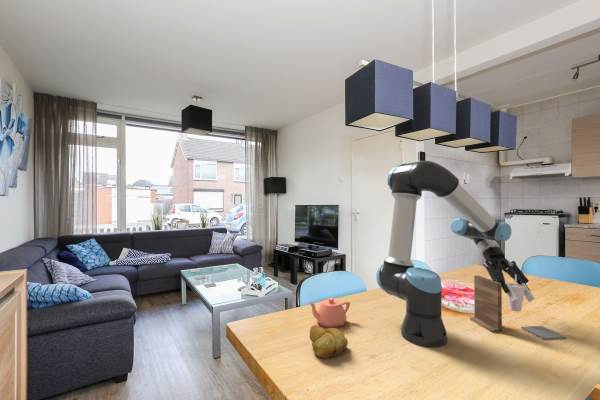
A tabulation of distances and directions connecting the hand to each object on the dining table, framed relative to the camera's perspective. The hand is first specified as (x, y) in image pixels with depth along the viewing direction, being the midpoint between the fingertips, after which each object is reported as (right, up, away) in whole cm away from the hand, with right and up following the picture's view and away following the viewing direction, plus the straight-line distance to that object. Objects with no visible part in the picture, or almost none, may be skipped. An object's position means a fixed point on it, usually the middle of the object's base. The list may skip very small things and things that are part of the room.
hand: (523, 300), depth 109 cm
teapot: (-74, -11, +5) cm, 75 cm away
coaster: (+3, -10, -5) cm, 12 cm away
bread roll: (-76, -11, -17) cm, 79 cm away
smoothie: (-1, -5, +4) cm, 6 cm away
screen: (-13, -11, +2) cm, 16 cm away
